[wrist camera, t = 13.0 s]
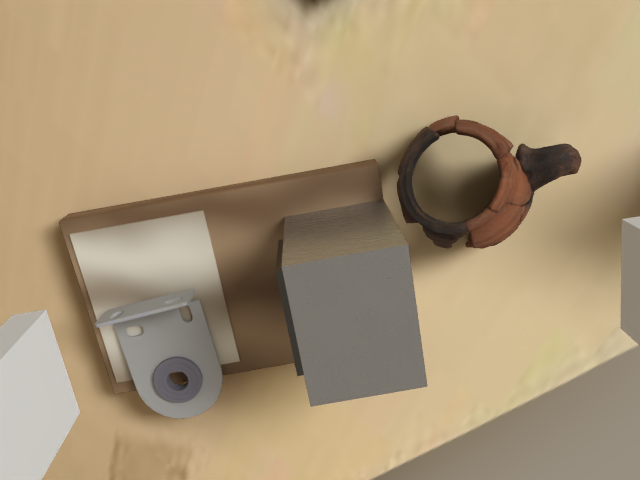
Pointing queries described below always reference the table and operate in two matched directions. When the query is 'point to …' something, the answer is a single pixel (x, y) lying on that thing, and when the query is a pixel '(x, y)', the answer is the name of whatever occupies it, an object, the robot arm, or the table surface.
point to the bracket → (169, 353)
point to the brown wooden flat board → (205, 259)
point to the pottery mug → (513, 187)
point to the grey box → (350, 303)
